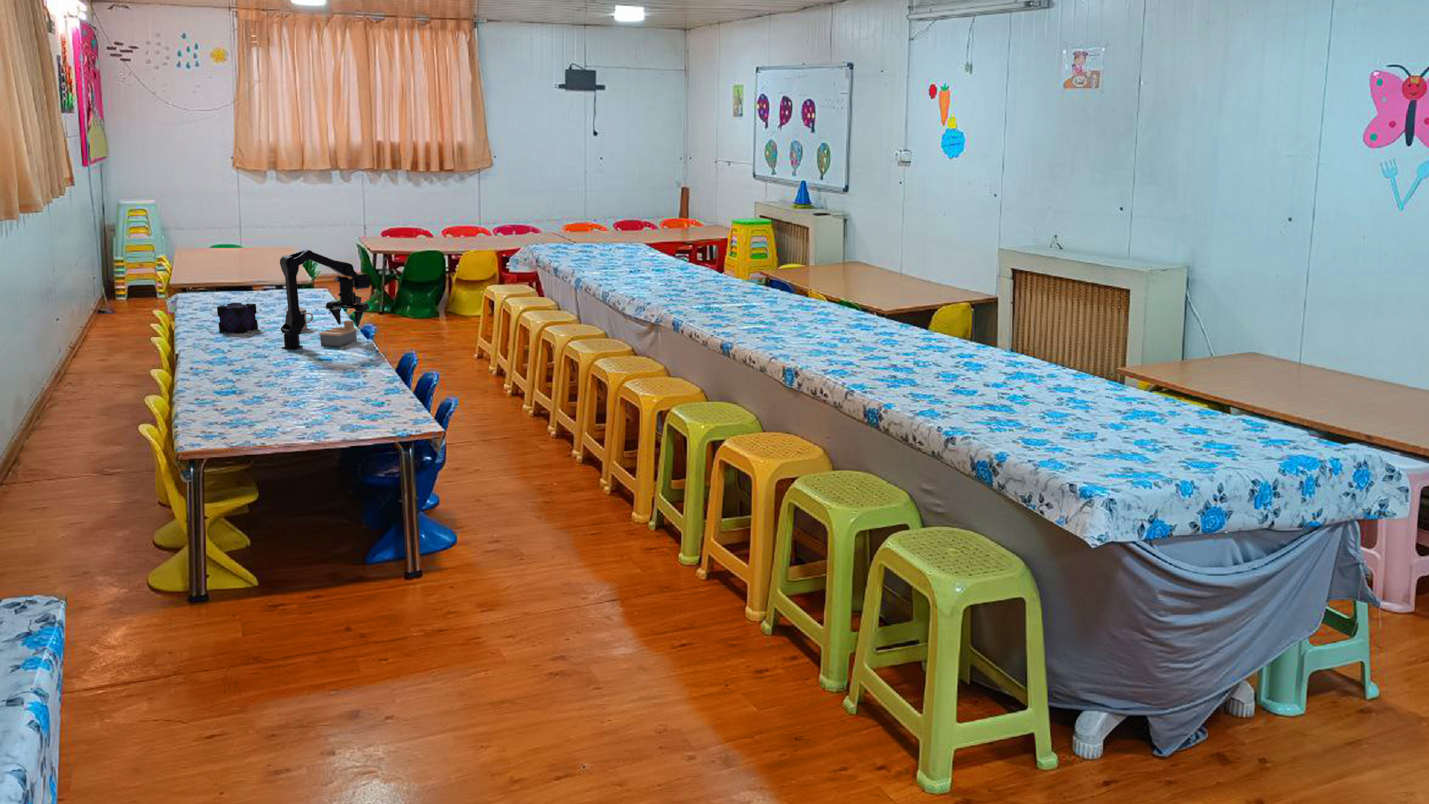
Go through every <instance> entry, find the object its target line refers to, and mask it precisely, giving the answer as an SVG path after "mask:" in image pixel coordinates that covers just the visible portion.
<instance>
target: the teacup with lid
mask: <svg viewBox="0 0 1429 804" xmlns="http://www.w3.org/2000/svg"><path fill="white" fill-rule="evenodd" d="M299 310H300V312H301V313H304V314H305V322H306V323H304V327H303V328H302V330H301V331H304V330H308V324H310V323H312V322H313V320H314V315H313V313H311V312H307V309H306V308H304V307H301V306H299ZM287 311H288V308H287V309H285V313H286V314H287ZM307 315H310V317H311V318H310V319H309V320H308V321H307Z"/></svg>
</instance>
